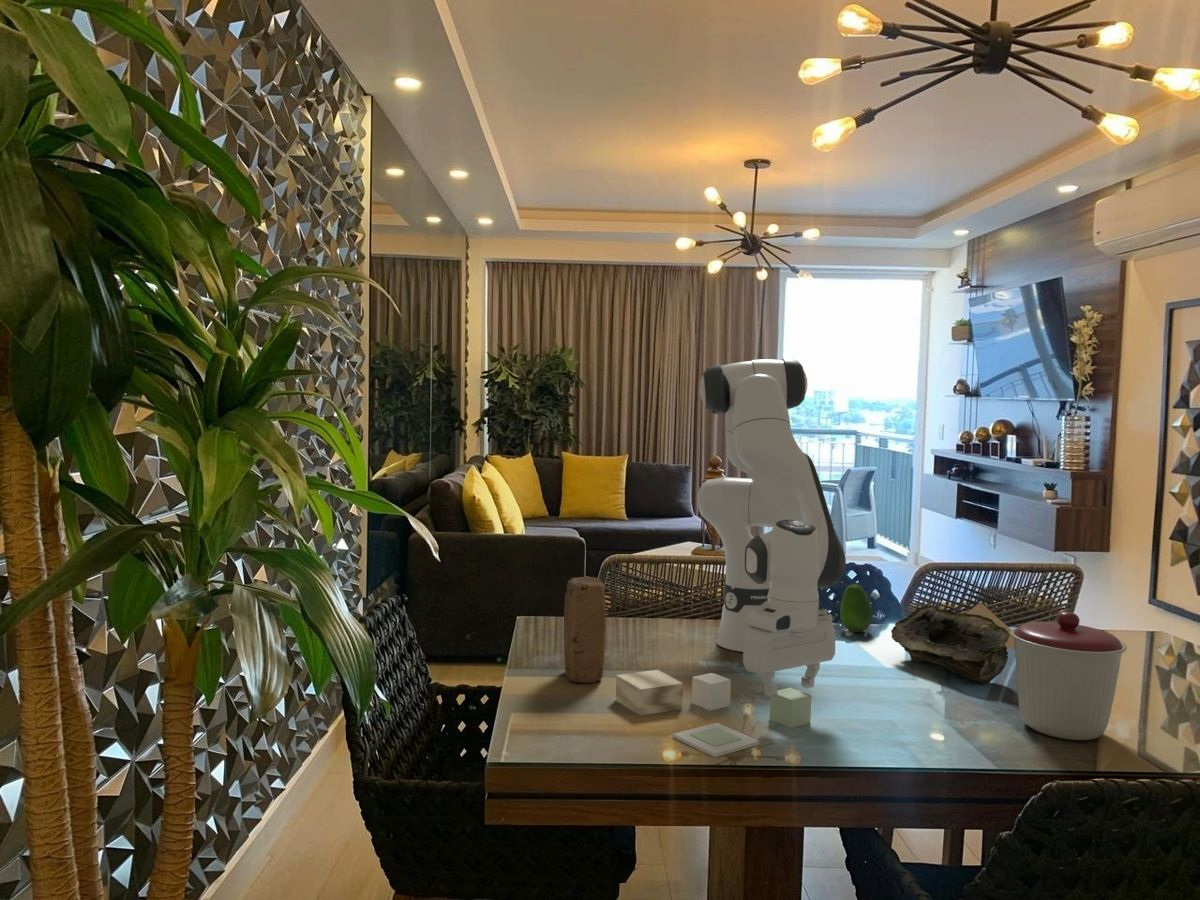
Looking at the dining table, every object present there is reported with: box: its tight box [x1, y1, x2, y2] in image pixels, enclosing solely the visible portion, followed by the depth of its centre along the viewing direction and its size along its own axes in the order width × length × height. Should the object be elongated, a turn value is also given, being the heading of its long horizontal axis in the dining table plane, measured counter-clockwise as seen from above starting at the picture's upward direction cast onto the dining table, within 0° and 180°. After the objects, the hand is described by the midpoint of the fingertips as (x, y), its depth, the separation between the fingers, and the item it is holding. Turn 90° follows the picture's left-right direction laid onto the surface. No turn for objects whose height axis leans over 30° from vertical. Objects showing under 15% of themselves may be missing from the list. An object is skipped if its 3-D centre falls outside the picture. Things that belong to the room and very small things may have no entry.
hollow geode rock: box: [890, 604, 1010, 686], centre depth 191 cm, size 28×13×15 cm
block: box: [563, 576, 606, 684], centre depth 180 cm, size 11×8×20 cm
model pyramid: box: [965, 601, 1015, 651], centre depth 218 cm, size 17×17×10 cm
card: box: [672, 722, 760, 758], centre depth 148 cm, size 10×10×1 cm
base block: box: [615, 669, 684, 716], centre depth 165 cm, size 9×9×5 cm
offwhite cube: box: [691, 672, 732, 711], centre depth 166 cm, size 5×5×5 cm
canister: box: [1010, 611, 1128, 741], centre depth 157 cm, size 18×18×21 cm
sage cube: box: [769, 687, 812, 729], centre depth 158 cm, size 5×5×5 cm
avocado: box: [839, 583, 873, 633], centre depth 223 cm, size 8×8×12 cm
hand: (789, 691), depth 157 cm, fingers open, 8 cm apart
